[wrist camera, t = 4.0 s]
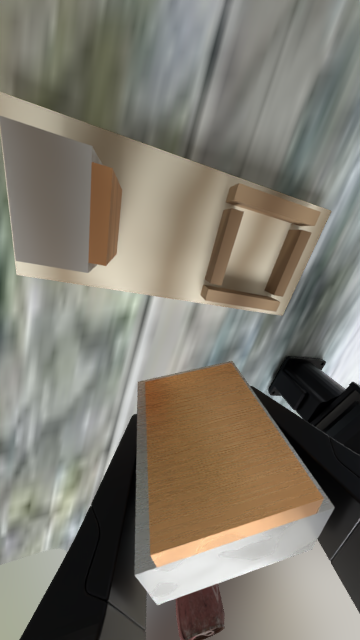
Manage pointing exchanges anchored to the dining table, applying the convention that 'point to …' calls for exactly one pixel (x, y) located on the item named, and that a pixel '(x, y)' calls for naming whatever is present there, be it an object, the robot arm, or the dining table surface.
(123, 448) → the robot arm
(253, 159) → the dining table surface
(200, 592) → the brown rounded cylinder
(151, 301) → the dining table surface
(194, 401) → the white wood-topped block
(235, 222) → the cream wooden stand
